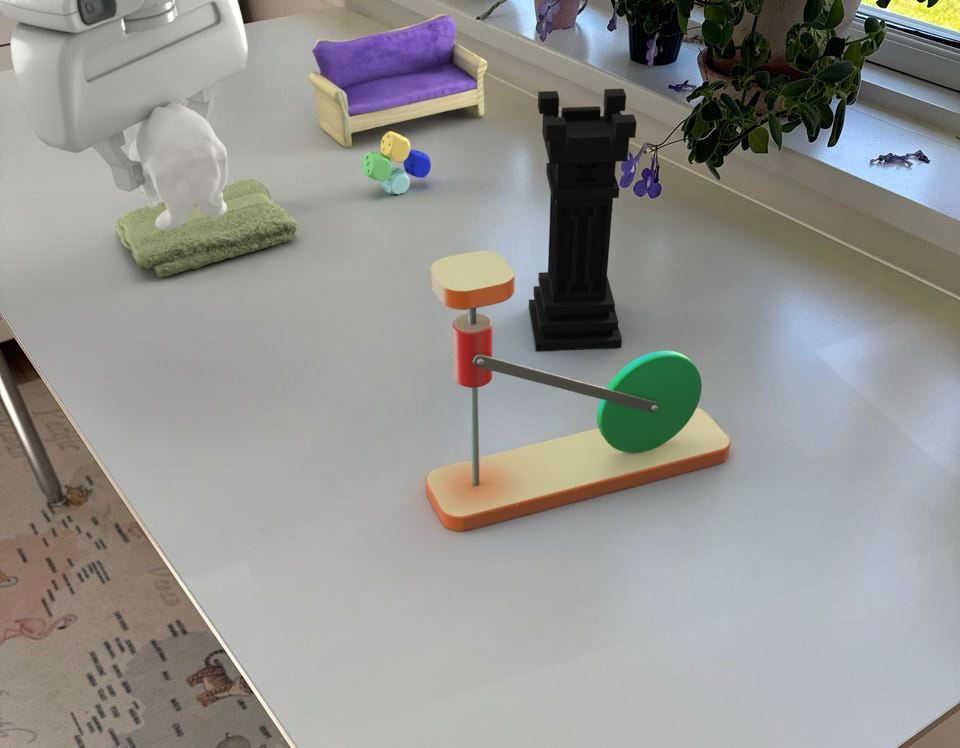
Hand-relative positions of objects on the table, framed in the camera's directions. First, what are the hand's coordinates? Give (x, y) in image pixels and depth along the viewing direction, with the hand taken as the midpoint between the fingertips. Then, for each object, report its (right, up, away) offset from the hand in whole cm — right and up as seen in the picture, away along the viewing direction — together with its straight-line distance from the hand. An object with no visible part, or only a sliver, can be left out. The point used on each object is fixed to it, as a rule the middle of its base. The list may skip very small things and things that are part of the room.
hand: (165, 167), depth 82 cm
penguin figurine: (0, -2, +3) cm, 3 cm away
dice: (+15, +15, +39) cm, 45 cm away
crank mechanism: (+33, -24, +3) cm, 40 cm away
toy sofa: (+15, +30, +53) cm, 62 cm away
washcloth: (-5, +6, +32) cm, 33 cm away
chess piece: (+34, -7, +18) cm, 39 cm away
